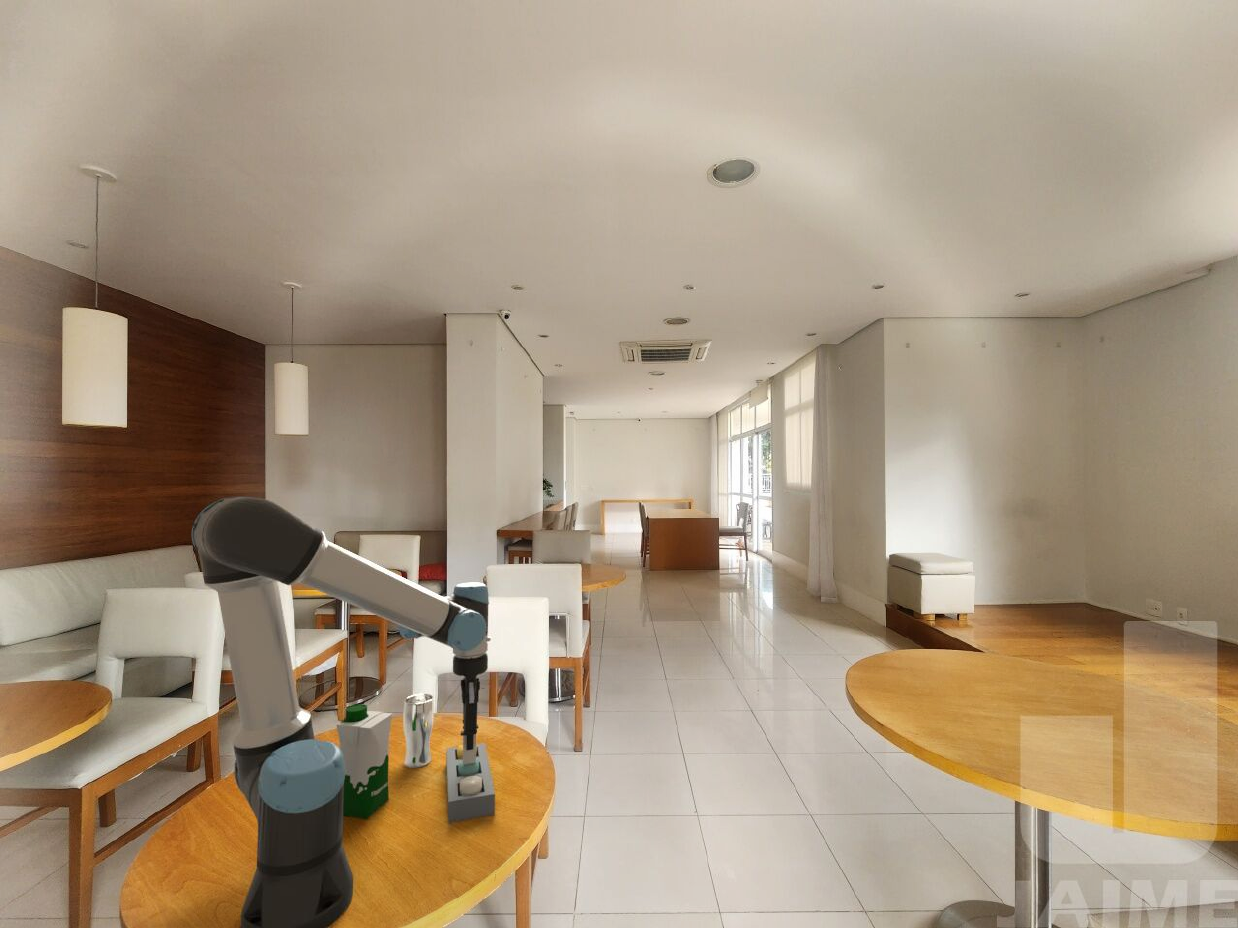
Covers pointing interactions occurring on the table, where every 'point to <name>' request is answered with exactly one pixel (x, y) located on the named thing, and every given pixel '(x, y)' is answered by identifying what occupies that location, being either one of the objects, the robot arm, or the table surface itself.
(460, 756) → the button amber
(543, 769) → the table surface
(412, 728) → the beer glass
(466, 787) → the button ivory
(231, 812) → the table surface
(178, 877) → the table surface
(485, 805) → the console
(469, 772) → the button teal
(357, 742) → the milk carton
